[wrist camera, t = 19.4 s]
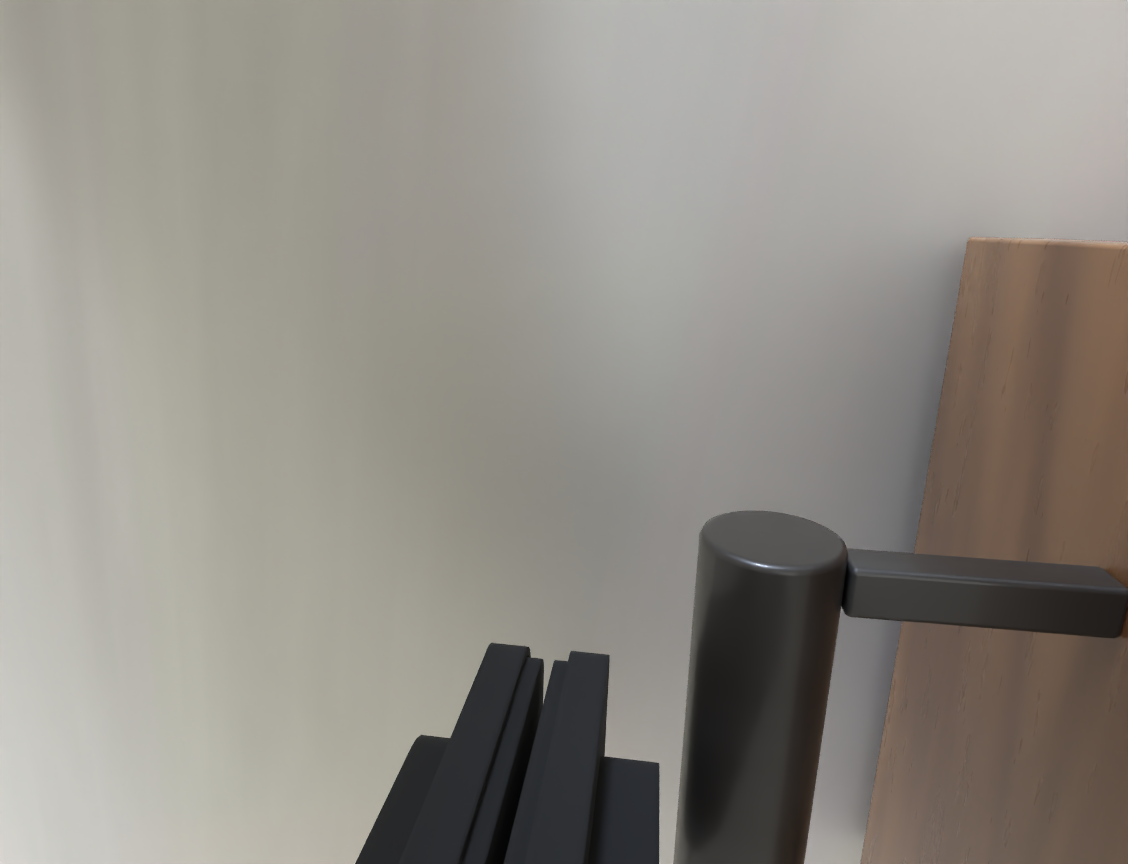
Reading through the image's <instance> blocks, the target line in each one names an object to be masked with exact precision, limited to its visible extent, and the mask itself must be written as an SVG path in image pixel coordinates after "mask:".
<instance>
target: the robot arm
mask: <svg viewBox="0 0 1128 864" xmlns="http://www.w3.org/2000/svg"><path fill="white" fill-rule="evenodd" d="M543 679H544V662H543V659H538V658H531V653H530V648H529V647H526V646H516V645H506V644H497V643H491V644H490V645H489V646H488V648H487V651H486V653H485V656H484V658H483V660H482V663H481V665H480V668H479V670H478V673H477V675H476V677H475V680H474V682H473V685H472V687H471V689H470V692H469V694H468V697H467V699H466V702H465V704H464V706H463V709H462V711H461V714H460V716H459V718H458V721H457V723H456V726H455V728H454V731H453V733H452V735H451V738H442V737H434V736H425V735H421V736H419V737H418V738H417V739H416V740H415V742H414V744H413V745H412V747H411V749H410V751H409V753H408V755H407V757H406V759H405V761H404V764H403V766H402V768H401V770H400V772H399V774H398V776H397V778H396V780H395V782H394V784H393V786H392V788H391V791H390V793H389V795H388V797H387V799H386V801H385V803H384V805H383V807H382V809H381V811H380V813H379V815H378V818H377V820H376V822H375V824H374V826H373V828H372V830H371V832H370V834H369V836H368V838H367V840H366V842H365V845H364V847H363V849H362V851H361V853H360V855H359V857H358V859H357V861H356V863H355V864H659V763H654V762H646V761H637V760H629V759H620V758H612V757H604V753H605V734H606V716H607V698H608V679H609V655H605V654H595V653H585V652H576V651H571V652H570V655H569V660H568V662H567V661H558V660H555V661H554V663H553V667H552V671H551V675H550V679H549V683H548V687H547V691H546V695H545V699H544V703H543Z"/></svg>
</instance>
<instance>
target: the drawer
mask: <svg viewBox="0 0 1128 864" xmlns="http://www.w3.org/2000/svg"><path fill="white" fill-rule="evenodd" d="M841 606H842V608H843V611H844V613H845V614H846V615H847V616H850V617H858V618H870V619H882V620H894V621H902V625H901V631H900V637H899V643H898V648H897V654H896V660H895V666H894V672H893V677H892V683H891V689H890V695H889V701H888V706H887V712H886V718H885V724H884V730H883V735H882V741H881V747H880V753H879V759H878V765H877V770H876V776H875V782H874V788H873V794H872V799H871V805H870V811H869V817H868V823H867V828H866V834H865V840H864V846H863V852H862V857H861V863H860V864H1128V242H1120V241H1094V240H1069V239H1043V238H998V237H971V238H969V240H968V242H967V248H966V254H965V259H964V265H963V271H962V277H961V283H960V288H959V294H958V300H957V306H956V312H955V317H954V323H953V329H952V335H951V341H950V346H949V352H948V358H947V364H946V370H945V375H944V381H943V387H942V393H941V399H940V405H939V410H938V416H937V422H936V428H935V434H934V439H933V445H932V451H931V457H930V463H929V468H928V474H927V480H926V486H925V492H924V497H923V503H922V509H921V515H920V521H919V526H918V532H917V538H916V544H915V550H914V553H902V552H888V551H874V550H860V549H847V548H846V545H845V543H844V541H843V540H842V539H841V538H840V537H839V536H838V535H837V534H836V533H834V532H833V531H831V530H830V529H828V528H826V527H824V526H822V525H820V524H818V523H815V522H813V521H810V520H807V519H804V518H800V517H797V516H793V515H788V514H783V513H777V512H768V511H738V512H730V513H725V514H722V515H718V516H716V517H714V518H712V519H710V520H709V521H707V522H706V523H705V525H704V526H703V528H702V530H701V532H700V535H699V548H698V561H697V573H696V586H695V598H694V611H693V624H692V636H691V649H690V661H689V674H688V687H687V699H686V712H685V724H684V737H683V749H682V762H681V775H680V787H679V800H678V812H677V825H676V838H675V850H674V863H673V864H804V860H805V853H806V846H807V839H808V832H809V825H810V818H811V812H812V805H813V798H814V791H815V784H816V777H817V770H818V763H819V756H820V749H821V742H822V735H823V728H824V721H825V714H826V708H827V701H828V694H829V687H830V680H831V673H832V666H833V659H834V652H835V645H836V638H837V631H838V624H839V617H840V610H841Z"/></svg>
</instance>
